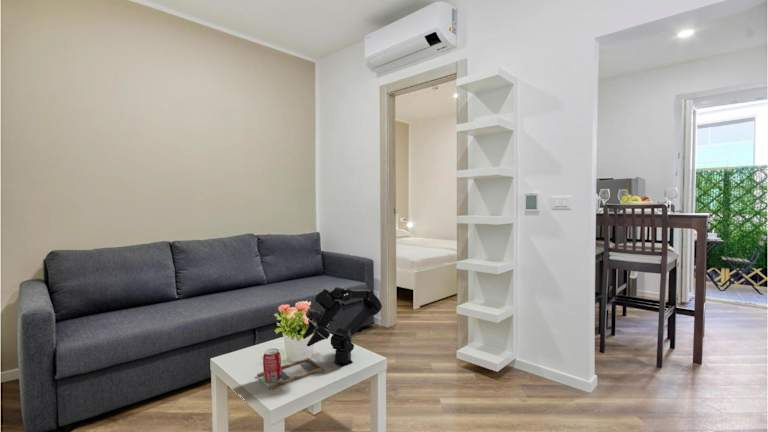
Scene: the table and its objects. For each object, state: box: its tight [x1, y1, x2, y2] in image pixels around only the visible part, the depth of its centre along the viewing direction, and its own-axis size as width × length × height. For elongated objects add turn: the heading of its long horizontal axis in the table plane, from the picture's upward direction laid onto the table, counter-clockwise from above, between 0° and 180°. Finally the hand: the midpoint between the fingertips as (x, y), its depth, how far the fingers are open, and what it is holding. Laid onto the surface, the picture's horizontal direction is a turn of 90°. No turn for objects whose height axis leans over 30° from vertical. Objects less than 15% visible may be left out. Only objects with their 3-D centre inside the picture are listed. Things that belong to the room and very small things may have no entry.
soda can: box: [262, 348, 282, 382], centre depth 152 cm, size 7×7×12 cm
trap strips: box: [281, 362, 317, 380], centre depth 159 cm, size 16×10×1 cm, turn 129°
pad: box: [258, 376, 284, 388], centre depth 152 cm, size 7×10×1 cm
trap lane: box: [256, 357, 324, 390], centre depth 157 cm, size 24×14×1 cm, turn 129°
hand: (305, 341), depth 157 cm, fingers open, 9 cm apart
